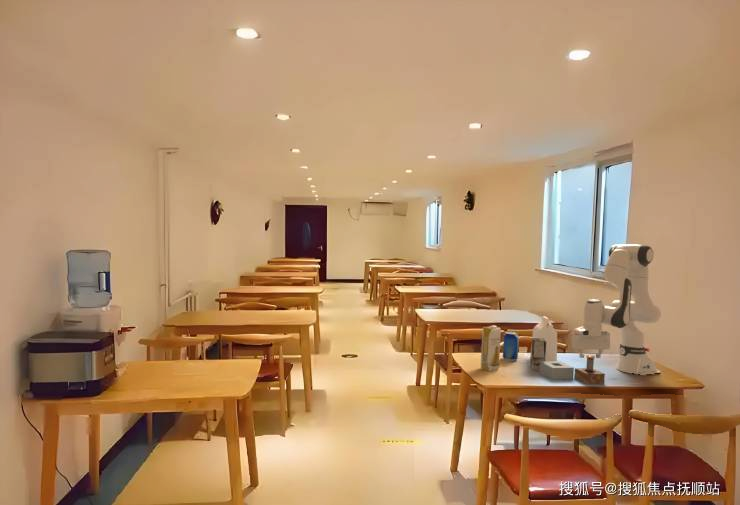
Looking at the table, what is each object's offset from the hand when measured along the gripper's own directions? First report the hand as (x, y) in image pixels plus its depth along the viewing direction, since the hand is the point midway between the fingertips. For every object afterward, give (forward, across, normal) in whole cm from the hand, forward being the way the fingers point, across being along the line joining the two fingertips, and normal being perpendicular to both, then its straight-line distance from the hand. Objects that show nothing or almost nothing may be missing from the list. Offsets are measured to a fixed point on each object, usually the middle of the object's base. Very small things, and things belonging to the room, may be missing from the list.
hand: (589, 357), depth 240 cm
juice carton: (+13, +43, -23) cm, 51 cm away
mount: (+12, -1, 0) cm, 12 cm away
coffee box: (+12, +15, -22) cm, 30 cm away
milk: (+12, +3, -36) cm, 38 cm away
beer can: (+12, +22, -40) cm, 48 cm away
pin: (+12, -1, 0) cm, 12 cm away
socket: (+12, +12, -9) cm, 20 cm away
